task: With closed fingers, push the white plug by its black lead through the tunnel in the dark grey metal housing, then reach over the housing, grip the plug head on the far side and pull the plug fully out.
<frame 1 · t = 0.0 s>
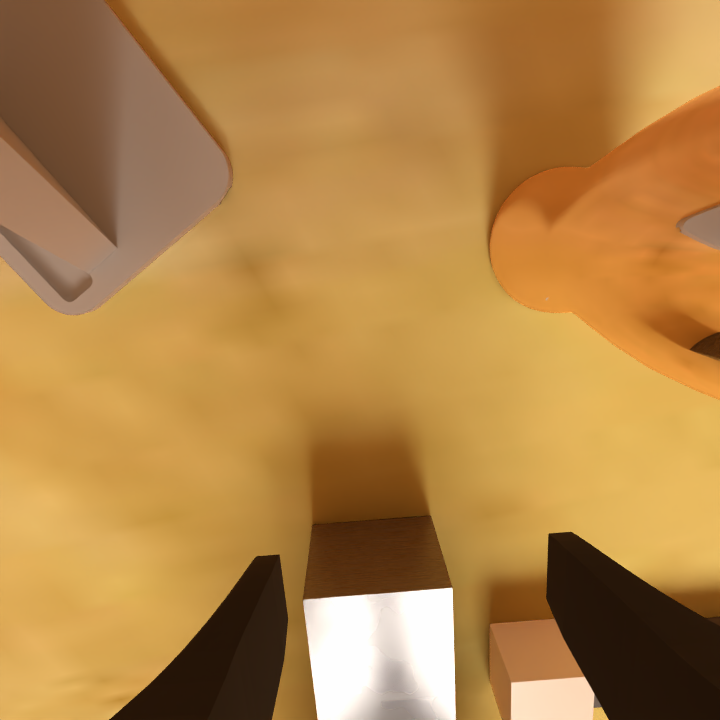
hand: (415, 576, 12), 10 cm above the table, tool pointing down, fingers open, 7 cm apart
phone holder: (9, 76, 18), on the table
housing: (382, 662, 25), on the table
beer glass: (555, 242, 20), on the table
plug: (614, 642, 26), on the table
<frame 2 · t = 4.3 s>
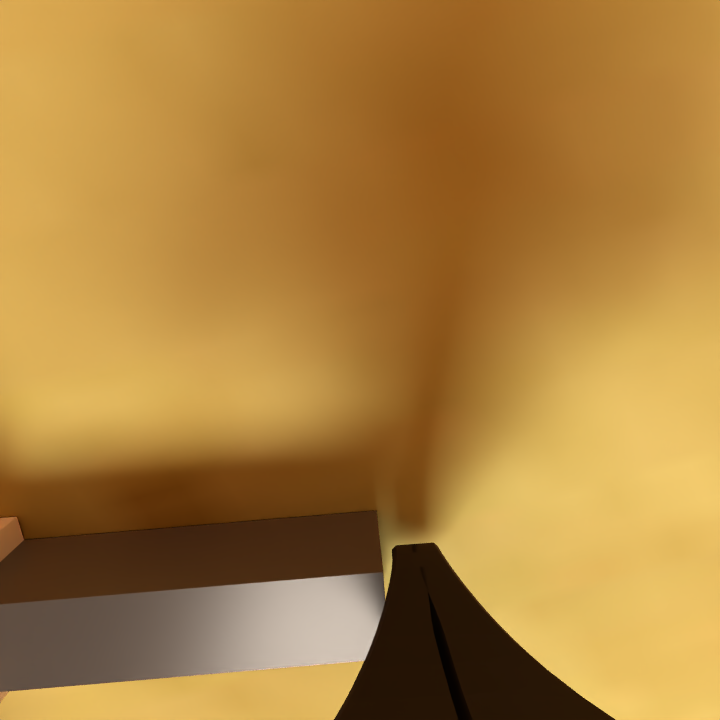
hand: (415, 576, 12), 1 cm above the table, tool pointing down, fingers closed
plug: (138, 568, 13), on the table, touching gripper
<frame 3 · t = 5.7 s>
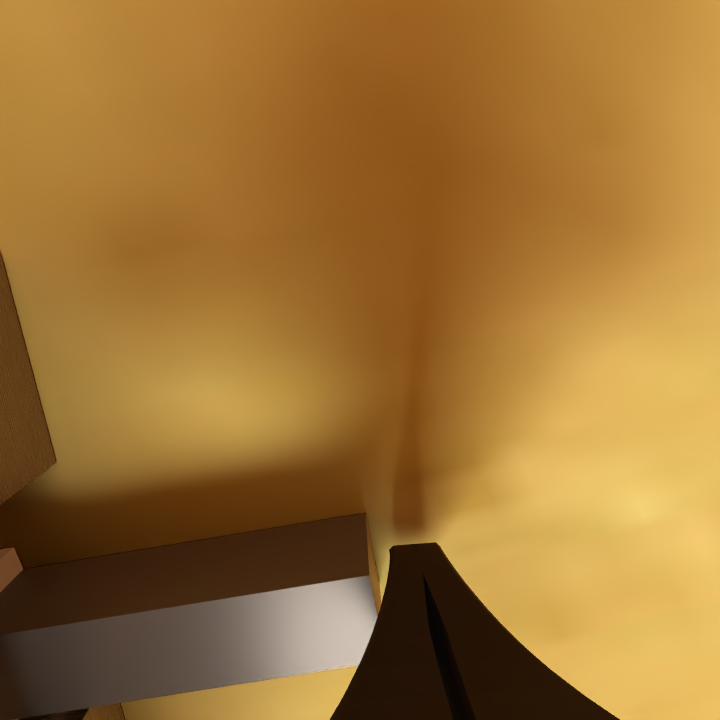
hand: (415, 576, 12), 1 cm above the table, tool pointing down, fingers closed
plug: (137, 588, 13), on the table, touching gripper
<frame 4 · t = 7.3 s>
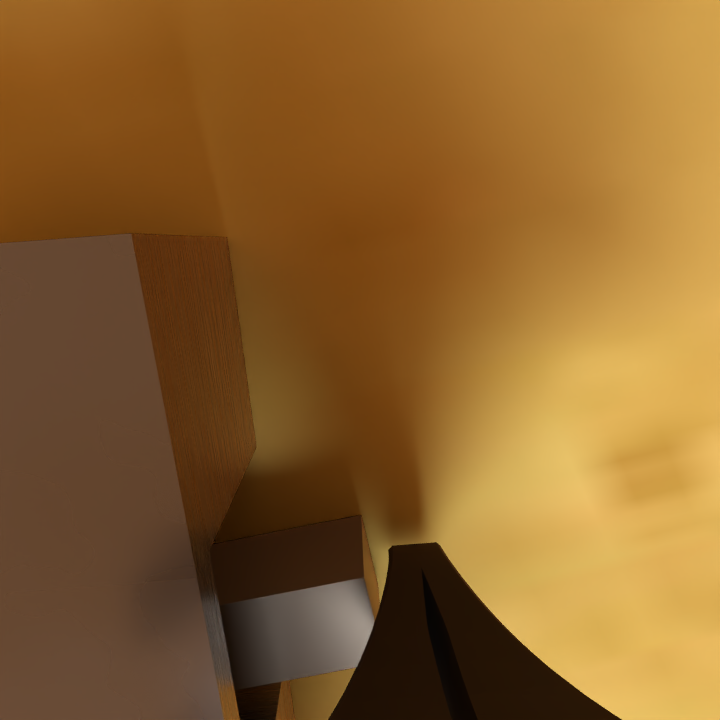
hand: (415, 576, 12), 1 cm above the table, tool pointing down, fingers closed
housing: (168, 565, 13), on the table
plug: (137, 597, 13), on the table, touching gripper
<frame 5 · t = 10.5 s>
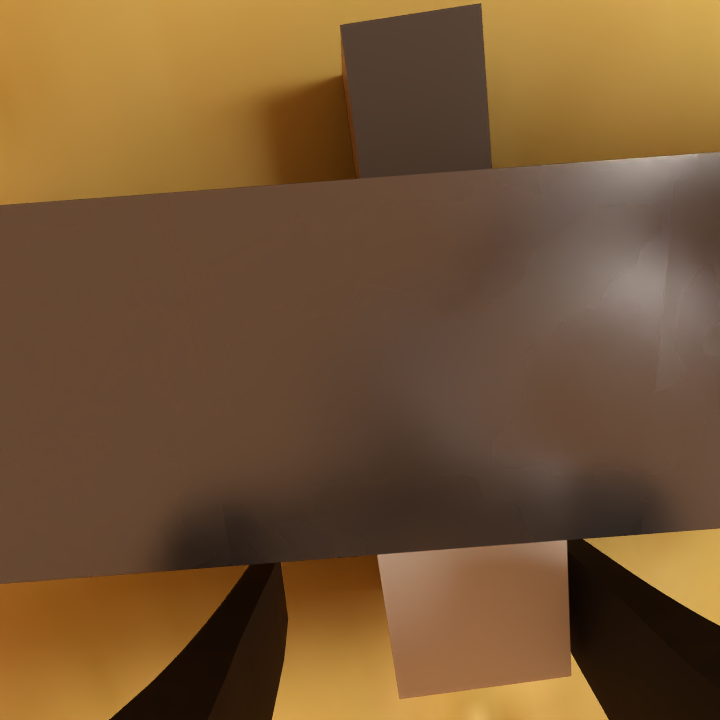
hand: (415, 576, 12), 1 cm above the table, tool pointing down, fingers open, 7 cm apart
housing: (398, 325, 12), on the table
plug: (428, 359, 12), on the table
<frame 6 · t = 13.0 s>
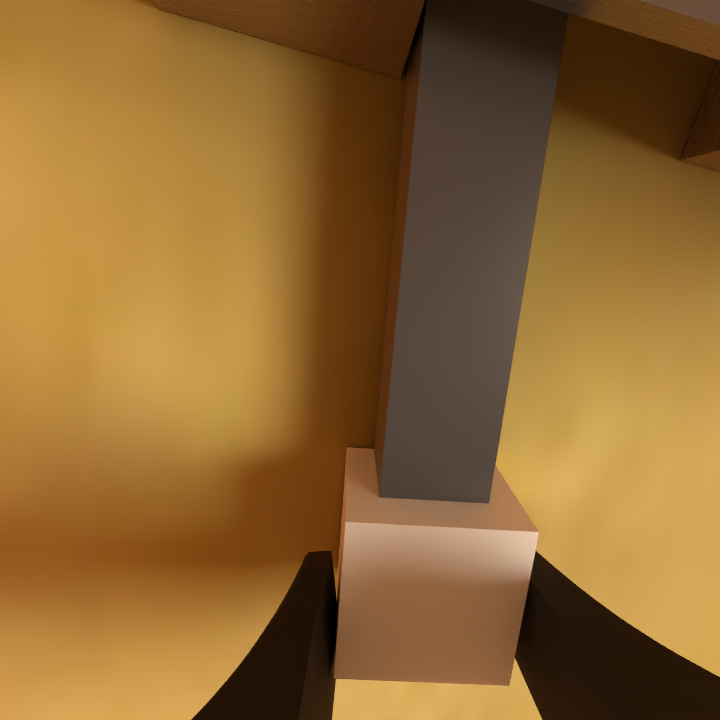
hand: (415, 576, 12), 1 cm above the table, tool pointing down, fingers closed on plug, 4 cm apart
plug: (430, 346, 12), on the table, touching gripper
when the fingers open (2 cm above the table, at t = 14.9 s): plug stays where it is, on the table.
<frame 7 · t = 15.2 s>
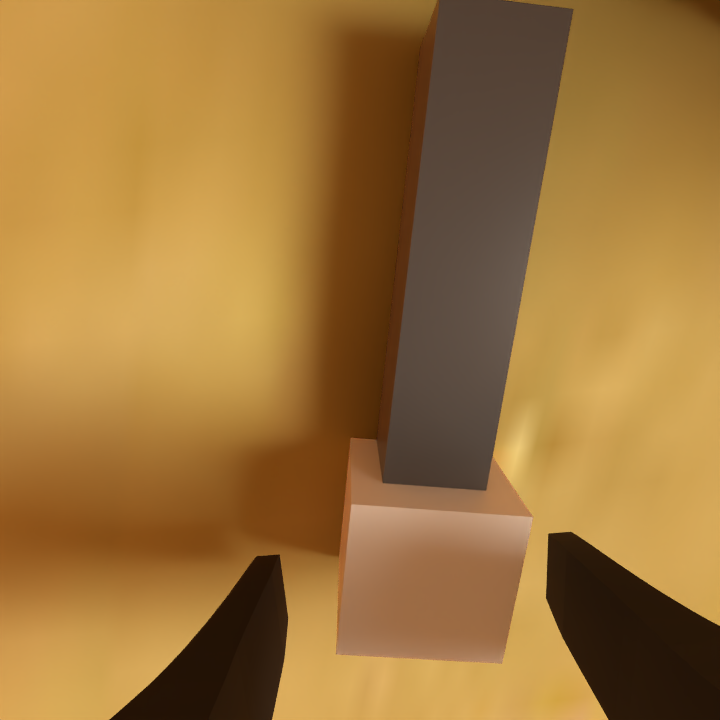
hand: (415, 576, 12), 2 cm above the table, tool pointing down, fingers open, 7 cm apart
plug: (432, 342, 13), on the table
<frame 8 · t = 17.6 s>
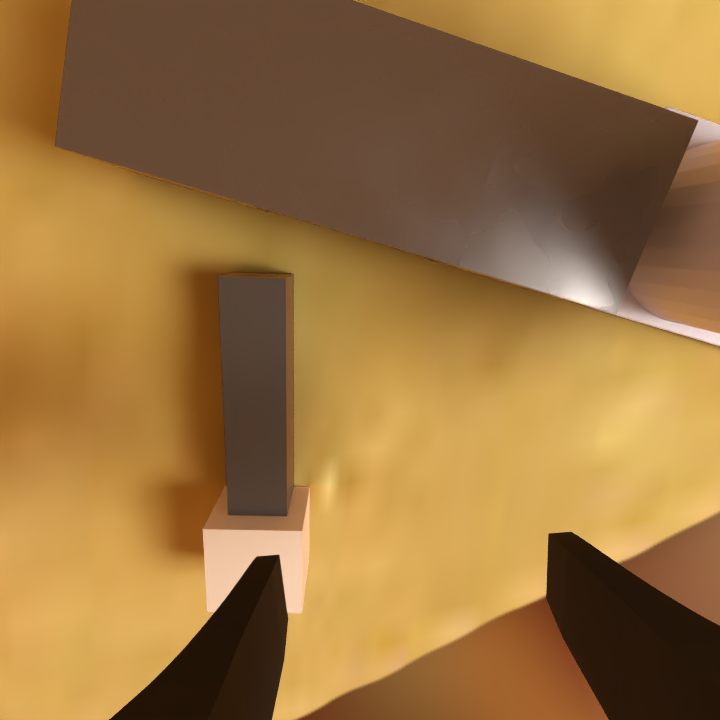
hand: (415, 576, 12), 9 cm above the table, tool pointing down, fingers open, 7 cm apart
housing: (371, 162, 18), on the table
plug: (266, 427, 21), on the table
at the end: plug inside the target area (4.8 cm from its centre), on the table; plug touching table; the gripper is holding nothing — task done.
